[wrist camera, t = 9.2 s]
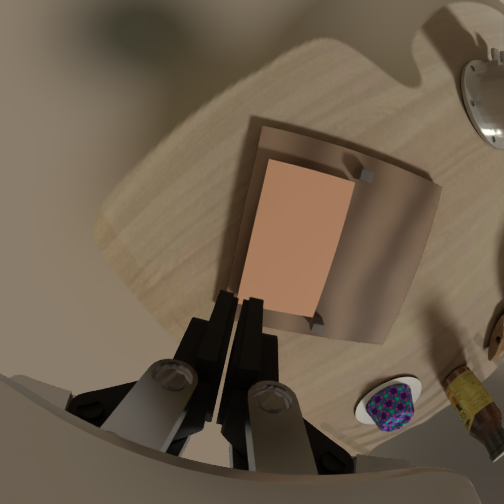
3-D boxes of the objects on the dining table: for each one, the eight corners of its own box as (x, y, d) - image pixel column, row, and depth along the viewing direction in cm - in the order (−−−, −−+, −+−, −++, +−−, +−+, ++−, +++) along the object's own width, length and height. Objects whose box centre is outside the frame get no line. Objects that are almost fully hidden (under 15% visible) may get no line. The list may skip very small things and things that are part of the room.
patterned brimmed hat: (432, 380, 34) (444, 400, 29) (387, 424, 37) (394, 444, 32) (388, 366, 33) (400, 390, 28) (339, 416, 36) (345, 440, 31)
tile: (269, 158, 22) (268, 159, 23) (236, 303, 27) (236, 297, 28) (355, 182, 23) (350, 181, 24) (312, 317, 27) (310, 311, 28)
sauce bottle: (436, 383, 34) (482, 467, 15) (463, 358, 32) (518, 436, 13) (447, 393, 35) (488, 468, 16) (471, 371, 33) (519, 441, 14)
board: (434, 185, 25) (451, 188, 21) (378, 338, 31) (387, 353, 28) (262, 127, 24) (262, 122, 21) (223, 310, 30) (218, 326, 27)
